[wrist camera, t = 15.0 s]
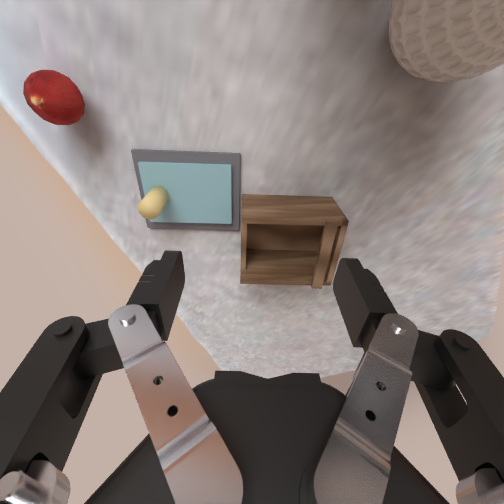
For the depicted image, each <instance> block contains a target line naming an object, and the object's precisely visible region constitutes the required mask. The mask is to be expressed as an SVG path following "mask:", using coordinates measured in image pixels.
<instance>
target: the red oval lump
mask: <svg viewBox="0 0 504 504" xmlns="http://www.w3.org/2000/svg"><path fill="white" fill-rule="evenodd" d="M24 96H25V99H26V101H27V104H28V105H29V106H30V107H31V108H32V110H33V111H34V112H35V113H36V114H38V115H39V116H40V117H41V118H42V119H44V120H46V121H48V122H50V123H53V124H56V125H70V124H72V123H75V122H77V121H78V120H80V118H81V117H82V116H83V114H84V106H85V103H84V100H83V96H82V94H81V93H80V91H79V89H78V87H77V86H76V85H75V84H74V83H73V82H72V81H71V80H70V78H69V77H67V76H65V75H63V74H61V73H59V72H56V71H54V70H39V71H36V72H34V73H31V74H30V75H29V76H28V78H27V79H26V80H25V82H24Z"/></svg>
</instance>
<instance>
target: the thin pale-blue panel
mask: <svg viewBox="0 0 504 504" xmlns="http://www.w3.org/2000/svg"><path fill="white" fill-rule="evenodd" d="M138 167H139V172H140V176H141V181H142V186H143V191H144V196H145V197H144V198H143V199H142V201H141V202H140V203H139V205H138V211H139V213H140V214H141V215H142V216H143V217H144V218H146V219H150V222H175V223H216V224H232V181H231V164H200V163H169V162H138Z"/></svg>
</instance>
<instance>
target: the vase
mask: <svg viewBox="0 0 504 504" xmlns="http://www.w3.org/2000/svg"><path fill="white" fill-rule="evenodd" d="M389 40H390V45H391V49H392V52H393V54H394V56H395V58H396V60H397V62H398V63H399V64H400V65H401V66H402V67H403V68H404V69H405V70H406V71H407V72H408V73H410V74H411V75H413V76H415V77H417V78H420V79H423V80H427V81H433V82H453V81H458V80H463V79H468V78H472V77H475V76H478V75H481V74H483V73H485V72H488V71H490V70H492V69H494V68H496V67H498V66H500V65H502V64H504V0H393V2H392V7H391V12H390V18H389Z"/></svg>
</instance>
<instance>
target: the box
mask: <svg viewBox="0 0 504 504" xmlns="http://www.w3.org/2000/svg"><path fill="white" fill-rule="evenodd" d="M348 222H349V221H348V220H347V218H346V217H345V215H344V214H343V212H342V211H341V209H340V208H339V206H338V205H337V203H336V202H335V201H334V199H333V198H332V197H313V196H282V195H251V194H243V196H242V232H241V278H240V284H283V285H311V287H312V288H319V289H322V285H331V282H332V279H333V275H334V272H335V268H336V264H337V261H338V257H339V254H340V250H341V247H342V243H343V240H344V236H345V233H346V229H347V226H348Z"/></svg>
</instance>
